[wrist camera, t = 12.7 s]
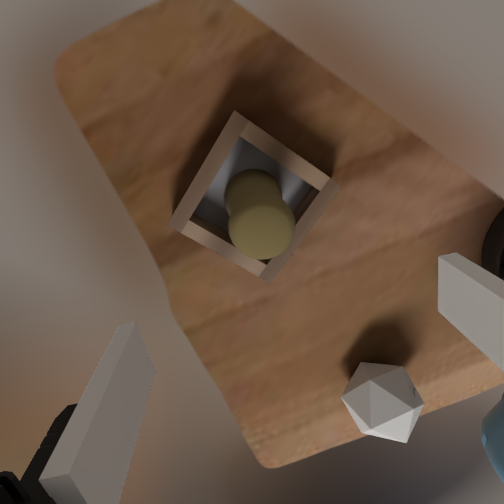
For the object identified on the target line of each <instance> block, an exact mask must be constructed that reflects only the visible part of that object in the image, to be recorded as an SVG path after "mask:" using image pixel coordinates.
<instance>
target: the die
mask: <svg viewBox="0 0 504 504" xmlns="http://www.w3.org/2000/svg"><path fill="white" fill-rule="evenodd" d="M341 398H342V400H343V401H344V403H345V405H346V406H347V408H348V410H349V412H350V413H351V415H352V417H353V419H354V420H355V422H356V424H357V425H358V427H359V429H360V431H361V432H362V433H365V434H369V435H374V436H378V437H383V438H387V439H391V440H396V441H400V442H404V443H407V440H408V438H409V436H410V434H411V432H412V429H413V427H414V425H415V423H416V420H417V419H418V416H419V414H420V412H421V410H422V408H423V405H424V402H423V400H422V398H421V397H420V395H419V393H418V391H417V390H416V388H415V386H414V384H413V383H412V381H411V379H410V377H409V376H408V374H407V372H406V371H405V369H404V367H403V366H396V365H386V364H376V363H366V362H360V364H359V366H358V368H357V369H356V371H355V373H354V375H353V376H352V378H351V380H350V382H349V383H348V385H347V387H346V389H345V390H344V392H343V394H342V396H341Z"/></svg>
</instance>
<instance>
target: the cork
mask: <svg viewBox="0 0 504 504" xmlns="http://www.w3.org/2000/svg"><path fill="white" fill-rule="evenodd" d="M224 205H225V208H226V210H227V212H228V214H229V216H230V218H229V222H228V227H229V236H230V238H231V240H232V242H233V244H234V245H235V247H236V248H237V249H238V250H239V251H240V252H241V253H243V254H244V255H246V256H248V257H250V258H254V259H259V260H261V259H270V258H273V257H275V256H278V255H279V254H281V253H282V252H283V251H285V250H286V249H287V248H288V246H289V245H290V243H291V242H292V240H293V237H294V234H295V218H294V215H293V212H292V210H291V208H290V207H289V206H288V205H287V203H286V202H285V201H284V200H283V198H282V191H281V188H280V185H279V183H278V182H277V181H276V179H275V178H274V177H273V176H272V175H270V174H269V173H267V172H266V171H263V170H259V169H247V170H244V171H242V172H239V173H237V174H236V175H235V176H234V177H233V178H231V179H230V181H229V183H228V184H227V186H226V188H225V193H224Z"/></svg>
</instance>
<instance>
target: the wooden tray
mask: <svg viewBox="0 0 504 504" xmlns="http://www.w3.org/2000/svg"><path fill="white" fill-rule="evenodd" d="M247 169H259V170H263V171H266V172H267V173H269V174H270V175H272V176H273V177H274V178H275V179H276V181H277V182H278V183H279V185H280V188H281V191H282V198H283V200H284V201H285V202H286V203H287V205H288V206H289V207H290V208H291V210H292V212H293V215H294V218H295V234H294V237H293V240H292V242H291V243H290V245H289V246H288V248H287V249H286V250H285V251H283V252H282V253H281V254H279V255H278V256H275V257H273V258H270V259H261V260H259V259H254V258H250V257H248V256H246V255H244V254H243V253H241V252H240V251H239V250H238V249H237V248H236V247H235V245H234V244H233V242H232V240H231V238H230V236H229V227H228V222H229V218H230V216H229V214H228V212H227V210H226V208H225V205H224V193H225V188H226V186H227V184H228V183H229V181H230V179H231V178H233V177H234V176H235V175H236V174H237V173H239V172H242V171H244V170H247ZM341 187H342V186H341V185H340V184H338V183H337V182H335V181H334V180H333V179H331V178H330V177H328V176H327V175H326V174H324V173H323V172H321V171H320V170H318V169H317V168H316V167H314V166H313V165H311V164H310V163H309V162H307V161H306V160H304V159H303V158H301V157H300V156H299V155H297V154H296V153H294V152H293V151H292V150H290V149H289V148H287V147H286V146H284V145H283V144H282V143H280V142H279V141H277V140H276V139H274V138H273V137H272V136H270V135H269V134H267V133H266V132H265V131H263V130H262V129H260V128H259V127H257V126H256V125H255V124H253V123H252V122H250V121H249V120H248V119H246V118H245V117H243V116H242V115H240V114H239V113H238V112H236V111H235V110H234V111H233V113H232V114H231V116H230V118H229V119H228V121H227V123H226V124H225V126H224V128H223V130H222V131H221V133H220V135H219V136H218V138H217V140H216V141H215V143H214V145H213V147H212V148H211V150H210V152H209V153H208V155H207V157H206V158H205V160H204V162H203V163H202V165H201V167H200V169H199V170H198V172H197V174H196V175H195V177H194V179H193V180H192V182H191V184H190V186H189V187H188V189H187V191H186V192H185V194H184V196H183V197H182V199H181V201H180V202H179V204H178V206H177V208H176V209H175V211H174V213H173V214H172V216H171V218H170V220H169V222H168V224H167V225H168V226H170V227H172V228H173V229H175V230H177V231H179V232H180V233H182V234H184V235H186V236H187V237H189V238H191V239H193V240H195V241H196V242H198V243H200V244H202V245H203V246H205V247H207V248H209V249H211V250H212V251H214V252H216V253H218V254H219V255H221V256H223V257H225V258H226V259H228V260H230V261H232V262H234V263H235V264H237V265H239V266H241V267H242V268H244V269H246V270H248V271H249V272H251V273H253V274H255V275H257V276H258V277H260V278H262V279H264V280H265V281H267V282H269V283H271V282H272V281H273V279H274V278H275V277H276V275H277V274H278V273H279V271H280V270H281V269H282V267H283V266H284V264H285V263H286V262H287V260H288V259H289V258H290V256H291V255H292V254H293V252H294V251H295V250H296V248H297V247H298V246H299V244H300V243H301V241H302V240H303V239H304V237H305V236H306V235H307V233H308V232H309V231H310V229H311V228H312V227H313V225H314V224H315V223H316V221H317V220H318V218H319V217H320V216H321V214H322V213H323V212H324V210H325V209H326V208H327V206H328V205H329V204H330V202H331V201H332V199H333V198H334V197H335V195H336V194H337V193H338V191H339V190H340V189H341Z"/></svg>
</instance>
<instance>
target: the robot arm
mask: <svg viewBox="0 0 504 504" xmlns="http://www.w3.org/2000/svg"><path fill="white" fill-rule="evenodd" d="M438 311H439V312H440V313H441V314H442V315H443V316H444V317H445V318H446V319H447V320H448V321H449V322H450V323H452V324H453V325H454V326H455V327H456V328H457V329H458V330H459V331H460V332H461V333H462V334H463V335H465V336H466V337H467V338H468V339H469V340H470V341H471V342H472V343H473V344H474V345H475V346H476V347H477V348H479V349H480V350H481V351H482V352H483V353H484V354H485V355H486V356H487V357H488V358H489V359H490V360H492V361H493V362H494V363H495V364H496V365H497V366H498V367H499V368H500V369H501V370H502V371H503V372H504V210H503V211H502V212H501V213H500V215H499V216H498V217H497V219H496V220H495V222H494V223H493V225H492V226H491V228H490V230H489V232H488V234H487V237H486V239H485V242H484V246H483V251H482V267H480V266H478V265H477V264H475V263H473V262H472V261H470V260H468V259H467V258H465V257H463V256H462V255H460V254H458V253H457V252H456V253H451V254H446V255H442V256H438ZM155 372H156V370H155V368H154V365H153V363H152V360H151V358H150V355H149V353H148V350H147V348H146V345H145V343H144V340H143V338H142V335H141V333H140V330H139V328H138V326H137V323H136V322H131V323H126V324H122V325H118V327H117V329H116V331H115V333H114V335H113V337H112V339H111V341H110V343H109V345H108V347H107V348H106V350H105V353H104V354H103V356H102V358H101V360H100V362H99V364H98V366H97V368H96V370H95V372H94V374H93V375H92V377H91V379H90V381H89V383H88V385H87V387H86V389H85V391H84V393H83V395H82V397H81V399H80V401H79V403H77V404H73V405H68V406H67V407H66V408H65V409H64V410H63V411H62V412H61V413H60V415H58V417H57V418H56V419H55V420H54V422H53V424H52V425H51V427H50V429H49V431H48V432H47V436H46V437H45V438H44V440H43V441H42V443H41V445H40V448H39V449H38V450H37V452H36V454H35V455H34V457H33V459H32V461H31V462H30V464H29V466H28V468H27V469H26V471H25V473H24V475H23V477H22V478H21V480H20V481H19V480H18V478H17V477H16V476H15V475H14V474H13V472H8V471H3V472H0V504H119V502H120V498H121V495H122V491H123V488H124V484H125V480H126V476H127V473H128V469H129V466H130V462H131V458H132V455H133V452H134V448H135V444H136V441H137V437H138V433H139V430H140V426H141V423H142V419H143V415H144V412H145V408H146V405H147V401H148V397H149V394H150V390H151V387H152V383H153V380H154V376H155ZM481 438H482V442H483V445H484V448H485V450H486V452H487V455H488V457H489V459H490V461H491V463H492V465H493V467H494V468H495V470H496V472H497V474H498V475H499V477H500V478H501V480H502V481H503V483H504V393H503V395H502V399H501V400H500V401H499V402H498V403H497V404H496V405H495V406H494V407H493V409H491V411H489V413H488V414H487V415H486V416H485V417H484V419H483V420H482V423H481Z"/></svg>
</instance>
